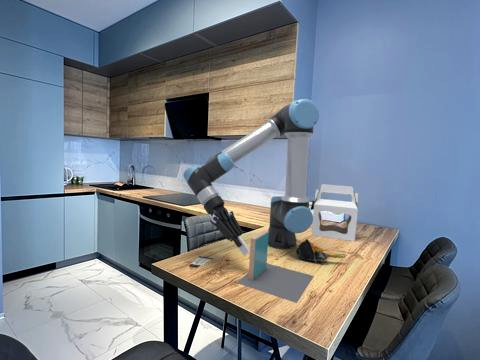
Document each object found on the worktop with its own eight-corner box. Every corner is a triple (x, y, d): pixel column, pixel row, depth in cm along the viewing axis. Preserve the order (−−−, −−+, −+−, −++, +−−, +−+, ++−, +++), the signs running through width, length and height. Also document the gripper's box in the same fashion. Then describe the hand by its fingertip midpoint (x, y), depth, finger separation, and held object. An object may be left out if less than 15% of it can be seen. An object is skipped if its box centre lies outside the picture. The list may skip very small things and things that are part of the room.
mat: (261, 263, 100) (262, 261, 100) (313, 277, 90) (313, 275, 90) (235, 284, 82) (235, 282, 82) (296, 304, 72) (296, 302, 72)
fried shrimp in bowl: (292, 243, 111) (331, 231, 111) (300, 269, 108) (341, 257, 108) (295, 242, 102) (338, 229, 103) (305, 270, 99) (349, 257, 99)
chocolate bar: (236, 273, 89) (189, 265, 94) (236, 276, 89) (189, 267, 94) (243, 263, 98) (199, 256, 102) (242, 265, 98) (199, 258, 102)
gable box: (353, 234, 145) (358, 185, 142) (355, 241, 133) (360, 188, 130) (313, 229, 153) (316, 182, 150) (311, 235, 140) (315, 184, 138)
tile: (262, 267, 95) (264, 230, 93) (266, 268, 94) (269, 231, 92) (248, 279, 85) (250, 238, 84) (253, 280, 84) (255, 239, 83)
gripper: (215, 204, 104) (249, 253, 98) (194, 209, 93) (231, 265, 87) (226, 192, 101) (262, 242, 95) (206, 196, 90) (245, 253, 83)
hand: (247, 253), depth 91 cm, fingers closed
